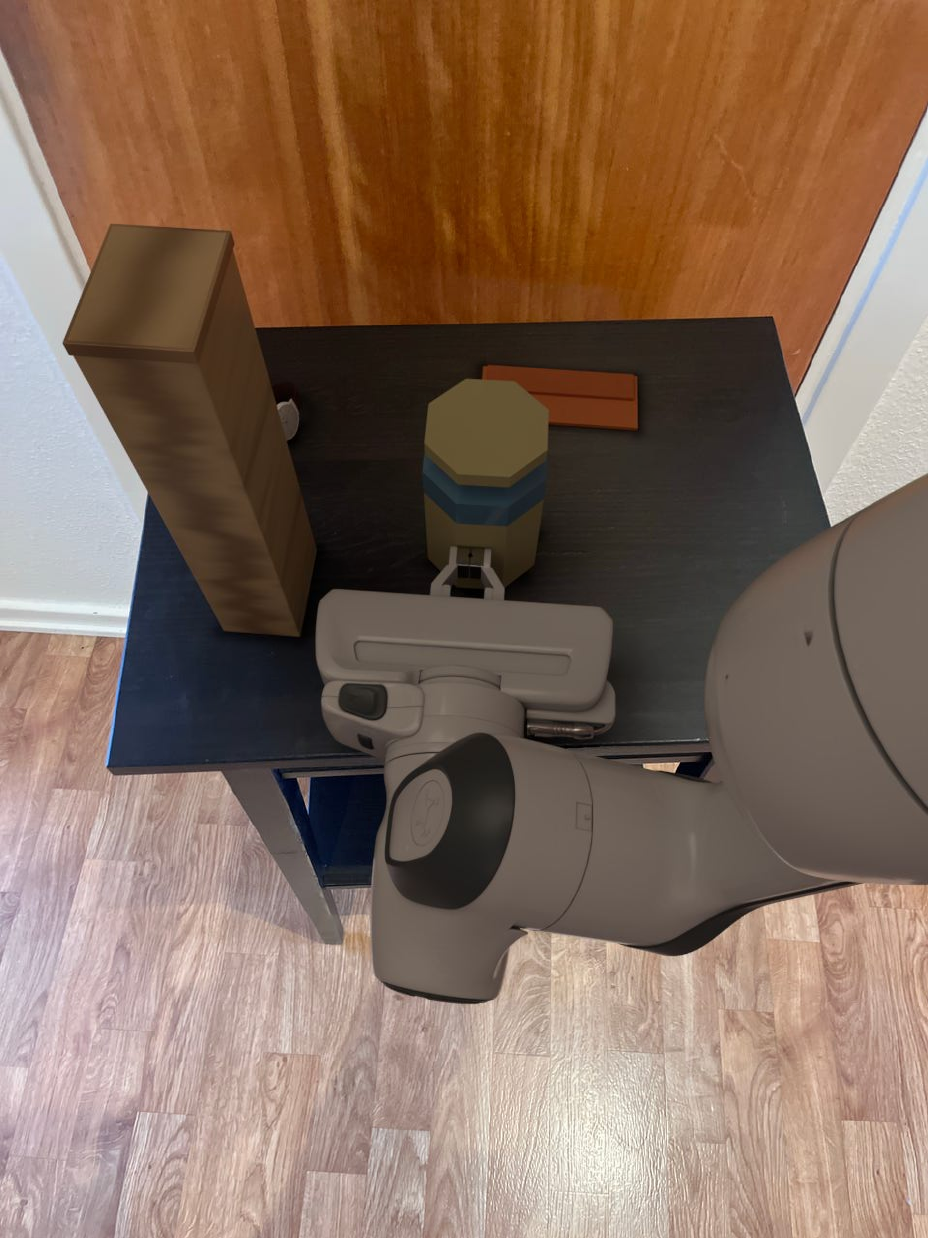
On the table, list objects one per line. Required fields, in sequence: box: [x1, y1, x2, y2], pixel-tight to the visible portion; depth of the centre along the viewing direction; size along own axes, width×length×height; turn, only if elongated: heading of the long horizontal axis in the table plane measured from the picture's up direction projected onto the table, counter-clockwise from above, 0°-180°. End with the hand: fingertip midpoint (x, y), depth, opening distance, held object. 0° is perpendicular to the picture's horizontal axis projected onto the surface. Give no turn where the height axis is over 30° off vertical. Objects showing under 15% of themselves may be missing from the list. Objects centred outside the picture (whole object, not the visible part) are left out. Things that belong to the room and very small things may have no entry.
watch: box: [271, 380, 303, 442], centre depth 74 cm, size 8×5×4 cm, turn 153°
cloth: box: [481, 364, 639, 431], centre depth 77 cm, size 14×6×1 cm, turn 85°
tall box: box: [62, 223, 318, 638], centre depth 55 cm, size 6×8×30 cm
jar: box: [422, 378, 549, 590], centre depth 63 cm, size 9×9×15 cm
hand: (471, 551), depth 62 cm, fingers closed, pressing on jar
